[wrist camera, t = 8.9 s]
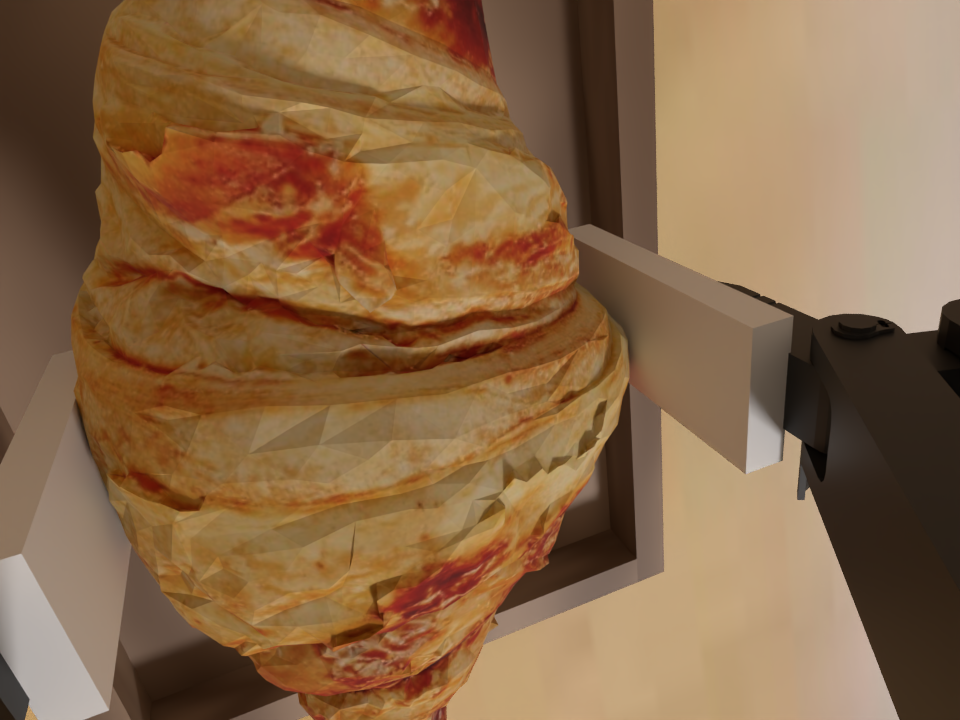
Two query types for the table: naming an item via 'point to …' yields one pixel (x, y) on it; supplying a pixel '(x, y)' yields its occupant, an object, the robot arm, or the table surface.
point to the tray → (590, 200)
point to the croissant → (334, 338)
